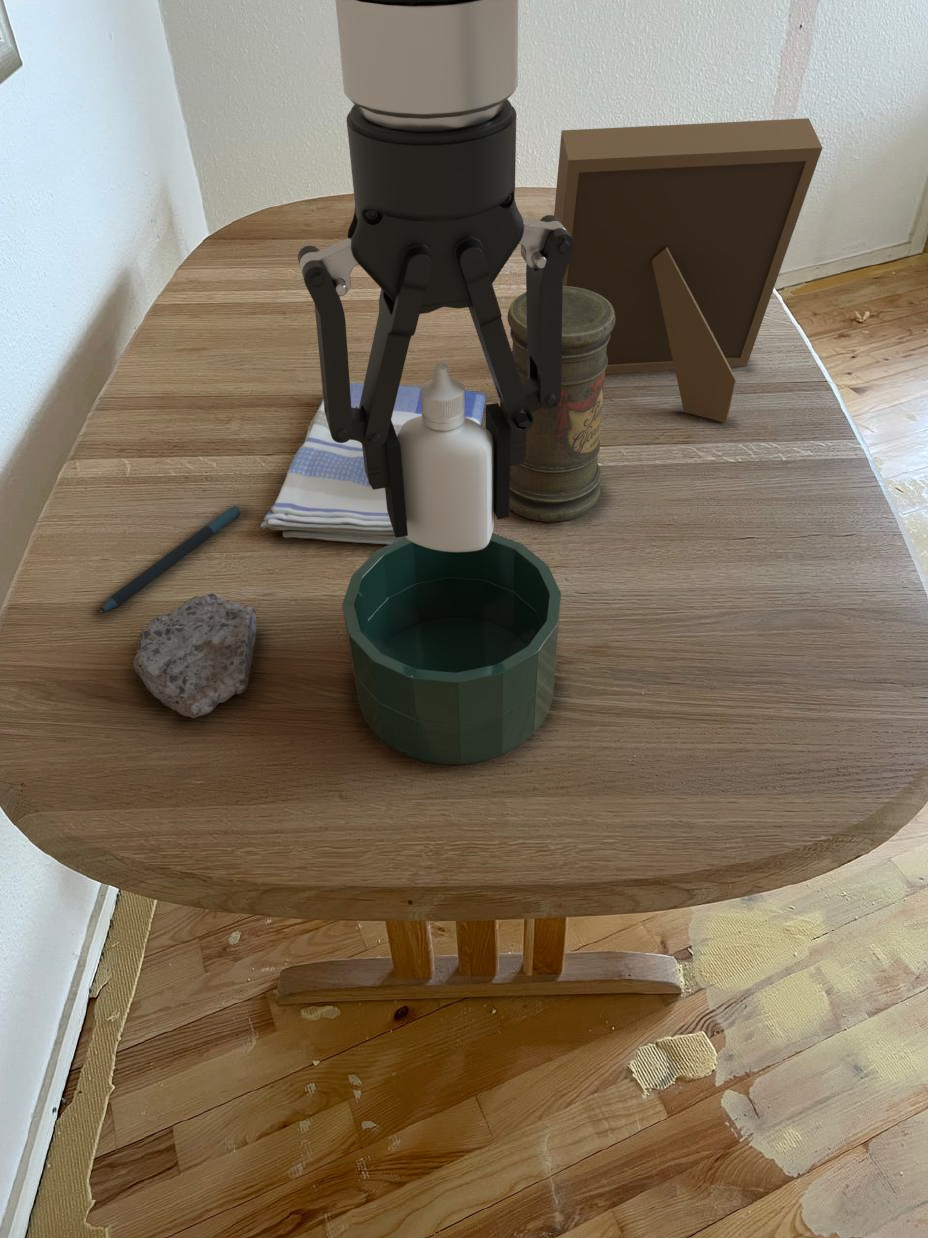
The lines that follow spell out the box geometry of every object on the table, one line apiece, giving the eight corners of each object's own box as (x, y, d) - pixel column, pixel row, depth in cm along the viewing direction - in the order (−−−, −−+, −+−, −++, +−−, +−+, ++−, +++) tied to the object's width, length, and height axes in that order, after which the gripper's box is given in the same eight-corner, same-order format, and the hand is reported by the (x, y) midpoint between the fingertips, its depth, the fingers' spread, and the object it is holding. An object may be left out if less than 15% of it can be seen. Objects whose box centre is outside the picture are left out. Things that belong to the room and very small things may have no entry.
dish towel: (260, 540, 80) (254, 515, 78) (328, 394, 96) (324, 371, 94) (454, 557, 78) (453, 532, 76) (490, 405, 94) (490, 381, 92)
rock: (262, 615, 73) (253, 579, 71) (248, 722, 66) (236, 686, 63) (152, 621, 73) (138, 585, 70) (125, 729, 66) (108, 693, 63)
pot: (580, 739, 64) (591, 654, 58) (377, 785, 62) (364, 701, 56) (520, 599, 74) (523, 513, 68) (343, 634, 72) (329, 548, 65)
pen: (98, 614, 74) (93, 604, 73) (234, 511, 83) (231, 501, 82) (106, 620, 74) (102, 610, 73) (242, 516, 83) (240, 506, 82)
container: (490, 514, 82) (490, 328, 69) (515, 457, 88) (520, 276, 75) (588, 531, 80) (607, 344, 67) (607, 472, 86) (629, 289, 73)
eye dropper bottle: (439, 500, 60) (431, 333, 52) (504, 536, 58) (507, 367, 49) (392, 533, 58) (375, 364, 49) (458, 572, 55) (452, 401, 47)
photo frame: (541, 357, 101) (552, 108, 83) (735, 346, 101) (788, 97, 84) (561, 434, 90) (578, 169, 72) (777, 420, 91) (847, 155, 73)
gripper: (602, 57, 44) (571, 454, 60) (209, 95, 41) (290, 503, 57) (664, 105, 39) (611, 525, 55) (220, 153, 36) (305, 582, 52)
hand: (447, 513), depth 56 cm, fingers closed on eye dropper bottle, 6 cm apart
